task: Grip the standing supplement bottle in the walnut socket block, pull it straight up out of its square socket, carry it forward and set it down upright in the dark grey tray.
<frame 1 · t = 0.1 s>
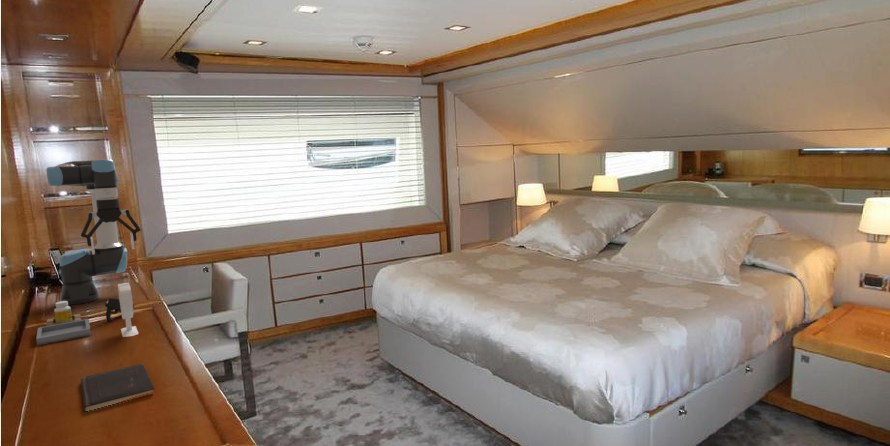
hand: (113, 251, 214), 28 cm above the worktop, tool pointing down, fingers open, 13 cm apart
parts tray: (64, 334, 200), on the worktop
hardcover book: (117, 391, 151), on the worktop
socket block: (64, 325, 212), on the worktop
gun: (121, 316, 222), on the worktop
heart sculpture: (129, 331, 201), on the worktop
supplement bottle: (64, 326, 212), resting in socket block
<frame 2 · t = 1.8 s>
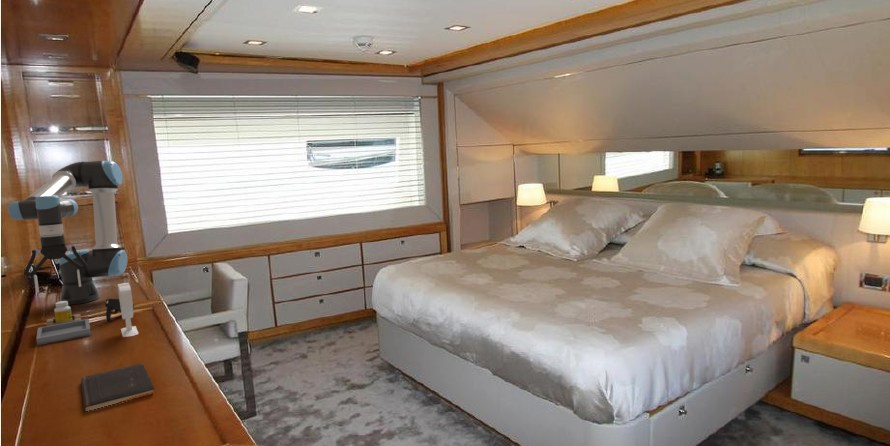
hand: (59, 289, 209), 15 cm above the worktop, tool pointing down, fingers open, 13 cm apart
nothing on the worktop moved.
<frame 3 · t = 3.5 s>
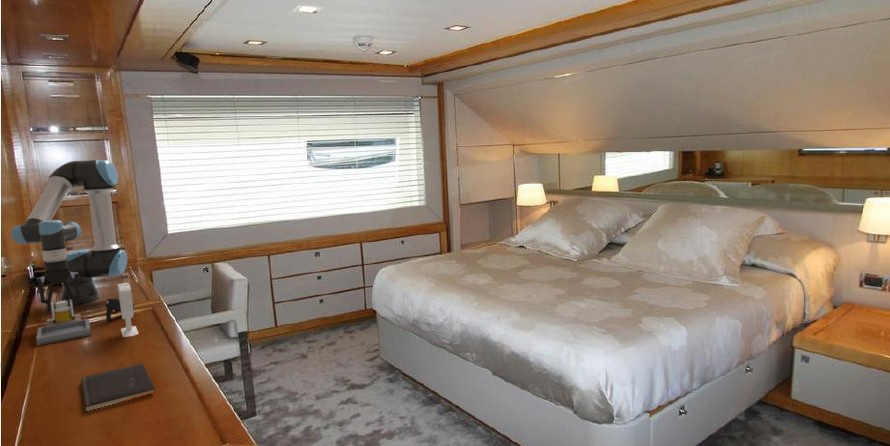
hand: (63, 317, 211), 3 cm above the worktop, tool pointing down, fingers closed on supplement bottle, 5 cm apart
supplement bottle: (64, 326, 212), resting in socket block, touching gripper
everything else where it was.
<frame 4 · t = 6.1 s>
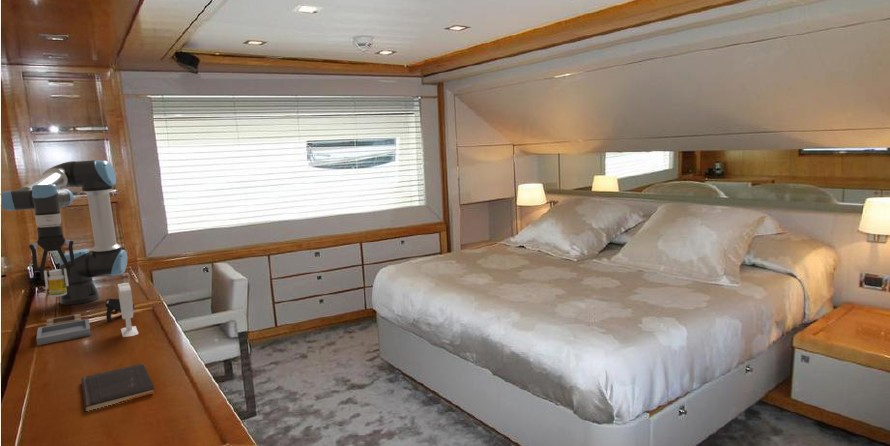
hand: (57, 286, 201), 18 cm above the worktop, tool pointing down, fingers closed on supplement bottle, 5 cm apart
supplement bottle: (58, 295, 201), point 14 cm above the worktop, touching gripper
everything else where it was.
when the fingers open (6 cm above the worktop, at t = 8.8 s): supplement bottle drops 1 cm, resting on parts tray.
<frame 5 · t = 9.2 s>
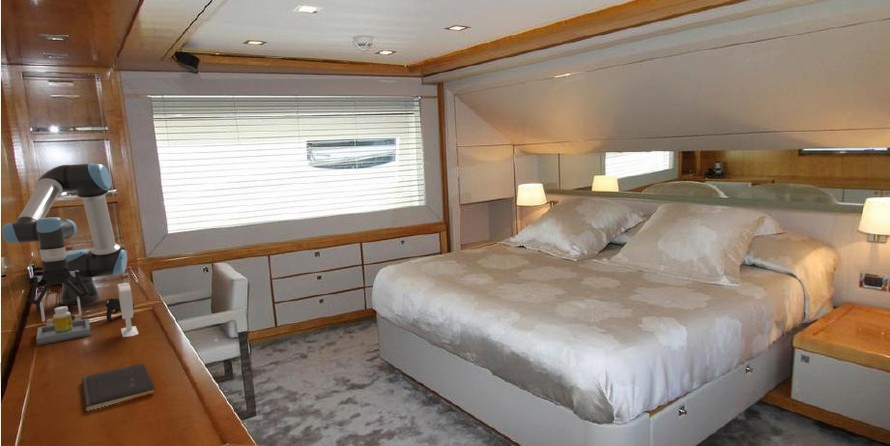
hand: (62, 317, 199), 7 cm above the worktop, tool pointing down, fingers open, 10 cm apart
supplement bottle: (64, 333, 200), point 1 cm above the worktop, touching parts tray
everything else where it was.
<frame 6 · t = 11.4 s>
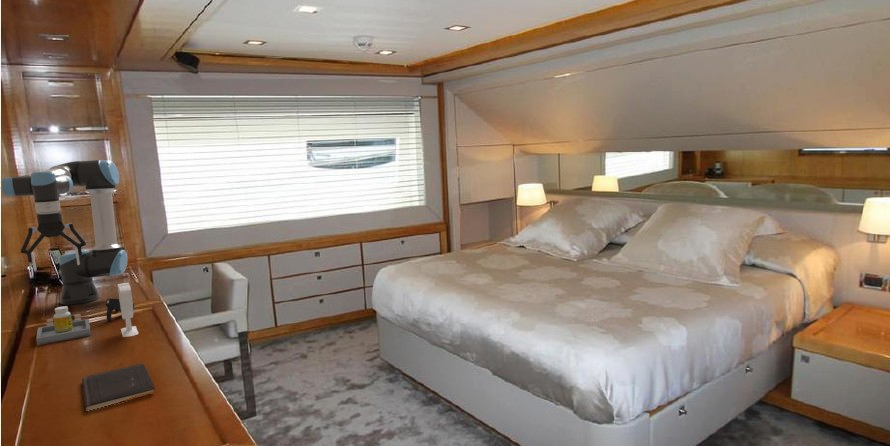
hand: (57, 267, 205), 24 cm above the worktop, tool pointing down, fingers open, 13 cm apart
nothing on the worktop moved.
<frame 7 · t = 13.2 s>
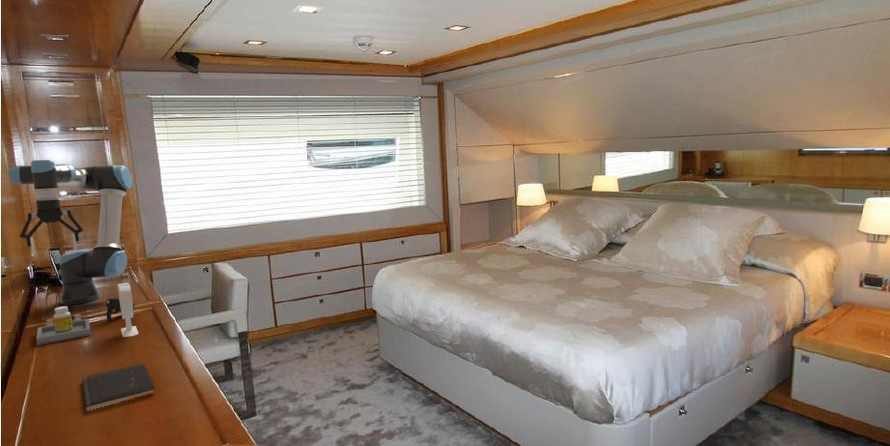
hand: (55, 252, 213), 29 cm above the worktop, tool pointing down, fingers open, 13 cm apart
nothing on the worktop moved.
at the end: supplement bottle inside the target area on the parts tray (0.0 cm from its centre), point 0.6 cm above the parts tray's base; supplement bottle tilted 0°; the gripper is holding nothing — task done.
